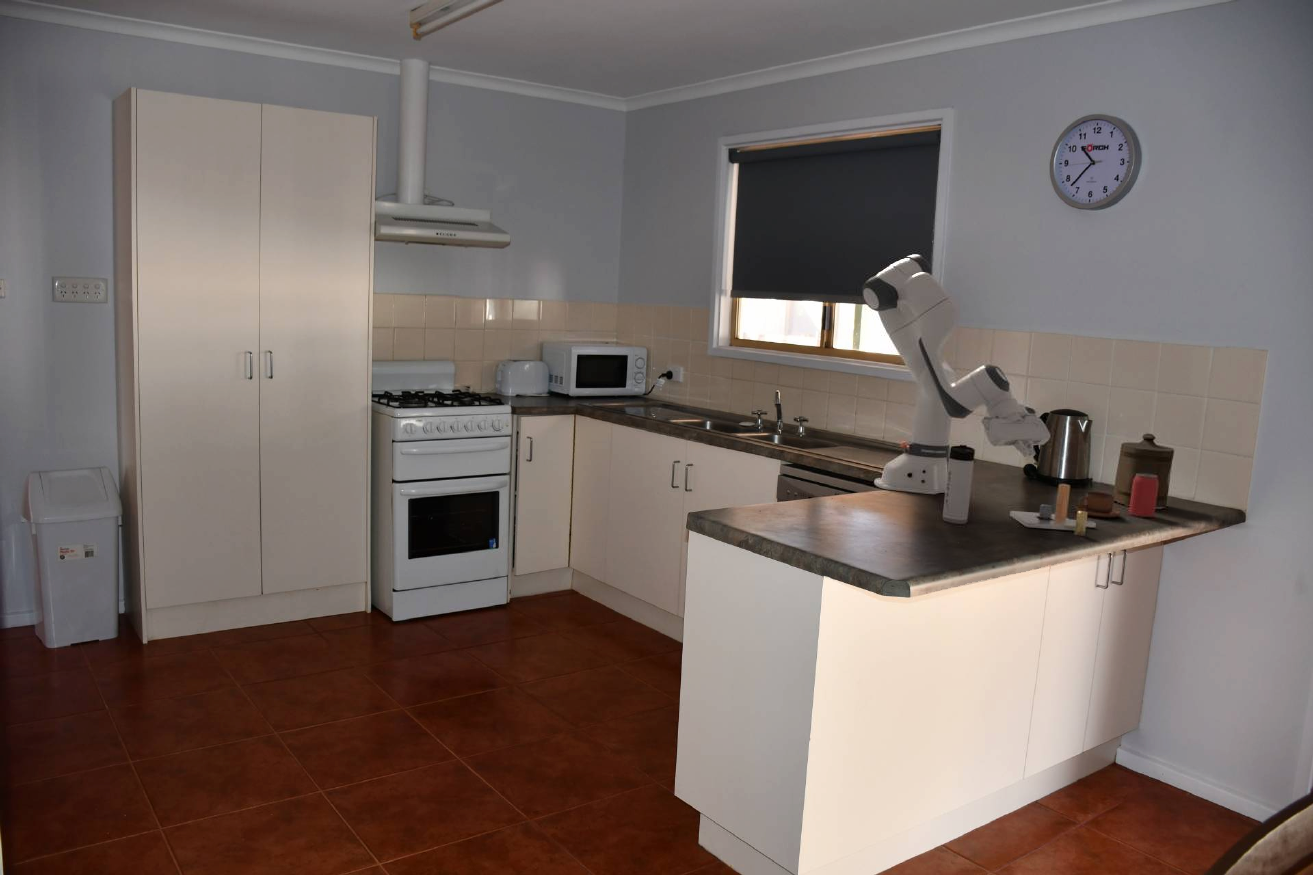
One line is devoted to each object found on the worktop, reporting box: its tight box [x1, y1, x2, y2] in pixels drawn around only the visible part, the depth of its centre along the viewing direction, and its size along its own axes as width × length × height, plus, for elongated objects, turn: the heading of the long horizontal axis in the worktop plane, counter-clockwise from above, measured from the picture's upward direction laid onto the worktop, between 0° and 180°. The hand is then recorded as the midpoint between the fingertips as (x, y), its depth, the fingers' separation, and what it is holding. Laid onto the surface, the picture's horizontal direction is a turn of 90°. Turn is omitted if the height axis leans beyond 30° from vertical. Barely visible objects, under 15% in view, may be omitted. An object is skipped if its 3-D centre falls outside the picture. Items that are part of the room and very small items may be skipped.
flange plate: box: [1009, 483, 1097, 532], centre depth 263 cm, size 20×14×10 cm
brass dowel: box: [1074, 510, 1088, 537], centre depth 253 cm, size 2×2×6 cm
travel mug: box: [942, 444, 976, 525], centre depth 259 cm, size 6×7×20 cm
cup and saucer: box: [1075, 491, 1122, 519], centre depth 281 cm, size 12×12×6 cm
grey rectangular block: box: [1038, 504, 1053, 520], centre depth 264 cm, size 3×3×5 cm
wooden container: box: [1112, 433, 1175, 508], centre depth 300 cm, size 15×15×22 cm
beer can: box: [1128, 473, 1159, 518], centre depth 283 cm, size 7×7×12 cm
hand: (1030, 455), depth 274 cm, fingers closed
